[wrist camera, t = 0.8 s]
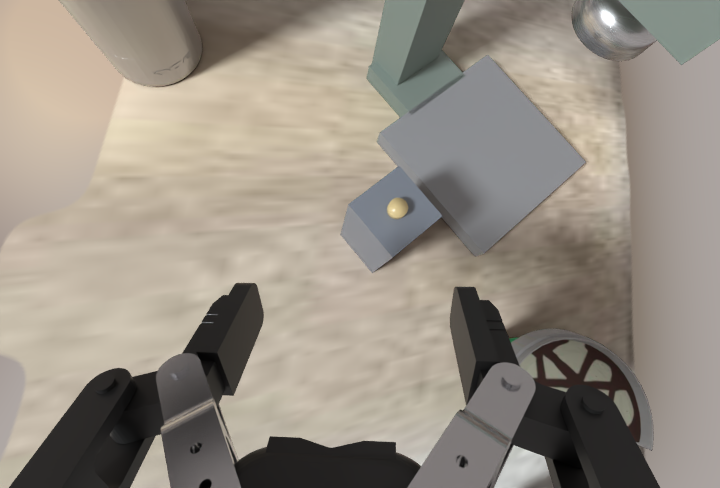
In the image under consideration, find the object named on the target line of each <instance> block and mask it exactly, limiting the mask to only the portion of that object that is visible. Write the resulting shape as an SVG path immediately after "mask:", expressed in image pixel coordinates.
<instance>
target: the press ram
mask: <svg viewBox="0 0 720 488" xmlns="http://www.w3.org/2000/svg"><path fill="white" fill-rule="evenodd" d="M572 24H573V27H574V30H575V32H576V34H577V36H578V38H579V39H580V40H581V42H582V43H583V44H584V45H585V46H586V47H587V48H588V49H589V50H591V51H592V52H593V53H595V54H597V55H598V56H600V57H603V58H605V59H608V60H613V61H626V60H630V59H633V58H635V57H636V56H638V55H639V54H641V53H642V52H643V51H644V50H646V49H647V48H648V47H649V46H651V45H652V44H653V43H654V42H656V41H657V39H656V38H655V37H654V36H653V35H652V34H651V33H650V32H649V31H648V30H647V29H646V28H645V27H644V26H643V25H642V24H641V23H640V22H639V21H638V20H637V19H636V18H635V17H634V16H633V15H632V14H631V13H630V12H629V11H628V10H627V9H626V8H625V7H624V6H623V4H622V3H621V2H620V1H619V0H576V2H575V3H574V6H573V8H572Z"/></svg>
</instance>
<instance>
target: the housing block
mask: <svg viewBox="0 0 720 488" xmlns="http://www.w3.org/2000/svg"><path fill="white" fill-rule="evenodd" d="M441 217H442V215H441V214H440V212H439V211H438V210H437V209H436V208H435V207H434V205H433V204H432V203H431V202H430V201H429V200H428V198H427V197H426V196H425V195H424V194H423V193H422V191H421V190H420V189H419V188H418V187H417V186H416V184H415V183H414V182H413V181H412V180H411V179H410V177H409V176H408V175H407V174H406V173H405V172H404V170H403V169H402V168H401V167H400V166H398V167H397V168H396V169H394V170H393V171H392V172H390V173H389V174H388V175H386V176H385V177H384V178H383V179H381V180H380V181H379V182H377V183H376V184H375V185H373V186H372V187H371V188H369V189H368V190H367V191H365V192H364V193H363V194H362V195H360V196H359V197H358V198H356V199H355V200H354V201H352V202H351V203H350V204H348V208H347V212H346V216H345V219H344V223H343V227H342V231H341V234H340V235H341V236H342V237H343V238H344V239H345V241H346V242H347V243H348V244H349V245H350V247H351V248H352V249H353V250H354V252H355V253H356V254H357V255H358V256H359V258H360V259H361V260H362V261H363V262H364V264H365V265H366V266H367V267H368V269H369V270H370V271H371V272H372V273H373V272H374V271H375V270H377V269H378V268H379V267H381V266H382V265H383V264H385V263H386V262H387V261H389V260H390V259H391V258H393V257H394V256H395V255H396V254H398V253H399V252H400V251H401V250H402V249H404V248H405V247H406V246H407V245H408V244H410V243H411V242H412V241H413V240H414V239H416V238H417V237H418V236H419V235H420V234H422V233H423V232H424V231H425V230H426V229H428V228H429V227H430V226H431V225H432V224H434V223H435V222H436V221H437V220H438V219H440V218H441Z"/></svg>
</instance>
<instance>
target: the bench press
mask: <svg viewBox="0 0 720 488" xmlns="http://www.w3.org/2000/svg"><path fill="white" fill-rule="evenodd" d="M619 1H620V2H621V3H622V4H623V6H624V7H625V8H626V9H627V10H628V11H629V12H630V13H631V14H632V15H633V16H634V17H635V18H636V19H637V20H638V21H639V22H640V23H641V24H642V25H643V26H644V27H645V28H646V29H647V30H648V31H649V32H650V33H651V34H652V35H653V36H654V37H655V38H656V39H657V40H658V42H659V43H660V44H661V45H662V46H663V47H665V49H666V50H667V51H668V52H669V53H670V54H671V55H672V56H673V57H674V58H675V59H676V60H677V61H678V62H679V63H680V64H681V65H682V64H684V63H685V62H687V61H688V60H690V59H691V58H693V57H694V56H696V55H697V54H698V53H700V52H701V51H703V50H704V49H706V48H707V47H709V46H710V45H712V44H713V43H715V42H716V41H718V40H719V39H720V0H619ZM463 2H464V0H385V4H384V9H383V13H382V18H381V23H380V28H379V32H378V37H377V42H376V47H375V51H374V56H373V61H372V65H370V66H369V69H368V74H367V80H368V81H369V82H370V83H371V84H372V86H373V87H374V88H375V89H376V90H377V91H378V92H379V94H380V95H381V96H382V97H383V98H384V99H385V100H386V102H387V103H388V104H389V105H390V106H391V107H392V108H393V110H394V111H395V112H396V113H397V114H398V115H399V117H400V118H399V119H398V120H396V121H395V122H394V123H392V124H391V125H389V126H388V127H387V128H385V129H384V130H383V131H381V132H380V134H379V137H378V140H377V143H378V144H379V145H380V146H381V147H382V149H383V150H384V151H385V152H386V153H387V154H388V156H389V157H390V158H391V159H392V160H393V161H394V163H395V164H396V165H397V166H400V167H401V168H402V169H403V170H404V172H405V173H406V174H407V175H408V176H409V177H410V179H411V180H412V181H413V182H414V183H415V184H416V186H417V187H418V188H419V189H420V190H421V191H422V193H423V194H424V195H425V196H426V197H427V198H428V200H429V201H430V202H431V203H432V204H433V205H434V207H435V208H436V209H437V210H438V211H439V212H440V214H441V215H442V219H443V220H444V221H445V222H446V223H447V224H448V226H449V227H450V228H451V229H452V230H453V231H454V233H455V234H456V235H457V236H458V237H459V238H460V240H461V241H462V242H463V243H464V244H465V245H466V247H467V248H468V249H469V250H470V251H471V252H472V254H473V255H474V256H478V255H481V254H484V253H485V252H486V251H487V250H488V249H489V248H491V247H492V246H493V245H494V244H495V243H496V242H497V241H498V240H499V239H501V238H502V237H503V236H504V235H505V234H506V233H507V232H508V231H510V230H511V229H512V228H513V227H514V226H515V225H516V224H517V223H518V222H520V221H521V220H522V219H523V218H524V217H525V216H526V215H527V214H529V213H530V212H531V211H532V210H533V209H534V208H535V207H536V206H537V205H539V204H540V203H541V202H542V201H543V200H544V199H545V198H546V197H548V196H549V195H550V194H551V193H552V192H553V191H554V190H555V189H556V188H558V187H559V186H560V185H561V184H562V183H563V182H564V181H565V180H567V179H568V178H569V177H570V176H571V175H572V174H573V173H574V172H575V171H577V170H578V169H579V168H580V167H581V166H582V165H583V164H584V163H586V161H585V160H584V159H583V158H582V157H581V156H580V155H579V154H578V153H577V152H576V150H575V149H574V148H573V147H572V146H571V145H570V144H569V143H568V142H567V141H566V140H565V138H564V137H563V136H562V135H561V134H560V133H559V132H558V131H557V130H556V129H555V128H554V126H553V125H552V124H551V123H550V122H549V121H548V120H547V119H546V118H545V117H544V116H543V114H542V113H541V112H540V111H539V110H538V109H537V108H536V107H535V106H534V105H533V103H532V102H531V101H530V100H529V99H528V98H527V97H526V96H525V95H524V94H523V93H522V91H521V90H520V89H519V88H518V87H517V86H516V85H515V84H514V83H513V82H512V81H511V79H510V78H509V77H508V76H507V75H506V74H505V73H504V72H503V71H502V70H501V68H500V67H499V66H498V65H497V64H496V63H495V62H494V61H493V60H492V59H491V58H490V56H489V55H486V56H485V57H484V58H482V59H481V60H479V61H478V62H477V63H475V64H474V65H472V66H471V67H470V68H468V69H467V70H466V71H464V72H463V73H462V72H461V70H460V69H459V68H458V67H457V66H456V65H455V64H454V63H453V62H452V60H451V59H450V58H449V57H448V56H447V55H446V54H445V53H444V52H443V50H442V48H443V45H444V43H445V41H446V39H447V37H448V35H449V33H450V30H451V28H452V26H453V24H454V22H455V20H456V17H457V15H458V13H459V11H460V9H461V7H462V4H463Z"/></svg>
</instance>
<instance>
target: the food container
mask: <svg viewBox="0 0 720 488" xmlns="http://www.w3.org/2000/svg"><path fill="white" fill-rule="evenodd" d="M509 339H510V342H511V345H512V347H513V350H514V352H515V355H516V358H517V360H518V363H519V365H520V367H521V368H523V369H524V370H526V371H527V372H528V373H529V374H530V375H531V377H532V378H533V380H534V381H536V382H538V383H540V384H542V385H545V386H548V387H551V388H554V389H558V390H561V391H564V392H566V391H567V390H568V389H569V388H570V387H571V386H574V385H587V386H591V387H594V388H596V389H598V390H600V391H602V392H603V393H605V394H606V395H607V396H609V397H610V398H611V399H612V400H613V402H614V403H615V404H616V406H617V407H618V409H619V411H620V413H621V415H622V417H623V419H624V420H625V422H626V424H627V426H628V428H629V430H630V432H631V434H632V436H633V437H634V439H635V441H636V443H637V445H639V446H642V447H644V448H647V449H649V450H651V451H652V447H653V421H652V415H651V410H650V406H649V403H648V400H647V397H646V395H645V392H644V390H643V388H642V386H641V384H640V382H639V381H638V379H637V377H636V376H635V374H634V373H633V372H632V371H631V369H630V368H629V367H628V365H627V364H626V363H625V362H623V361H622V360H621V359H620V358H619V357H618V356H617V355H616V354H614V353H613V352H612V351H610V350H609V349H608V348H606V347H605V346H604V345H602V344H600V343H598V342H596V341H594V340H592V339H590V338H588V337H585V336H582V335H580V334H577V333H574V332H571V331H568V330H562V329H541V330H536V331H532V332H530V333H527V334H525V335H522V336H521V337H509Z"/></svg>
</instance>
